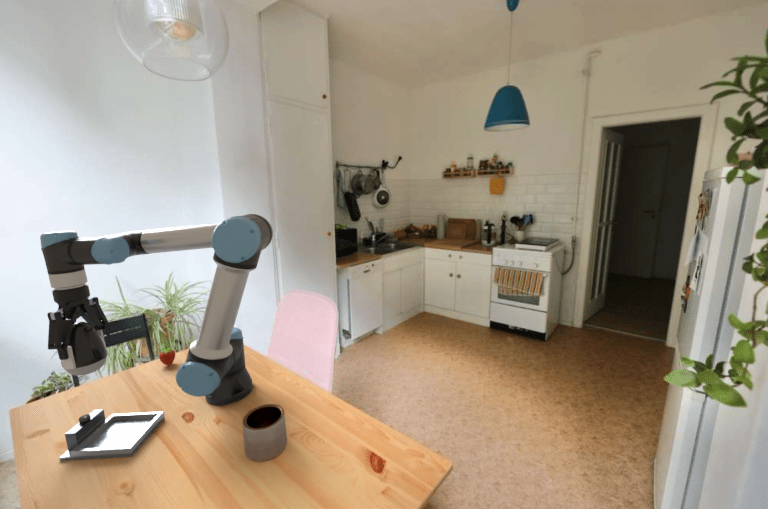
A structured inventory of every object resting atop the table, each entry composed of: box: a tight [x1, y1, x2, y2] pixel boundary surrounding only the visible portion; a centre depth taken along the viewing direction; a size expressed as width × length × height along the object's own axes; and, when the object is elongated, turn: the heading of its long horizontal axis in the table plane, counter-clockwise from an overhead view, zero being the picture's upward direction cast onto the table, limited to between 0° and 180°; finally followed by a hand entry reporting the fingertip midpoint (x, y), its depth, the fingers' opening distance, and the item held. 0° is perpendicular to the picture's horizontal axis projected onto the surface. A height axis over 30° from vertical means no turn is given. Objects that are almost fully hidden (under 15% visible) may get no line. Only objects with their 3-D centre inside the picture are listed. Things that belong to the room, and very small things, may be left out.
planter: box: [241, 403, 288, 462], centre depth 90 cm, size 11×11×10 cm
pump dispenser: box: [60, 321, 109, 377], centre depth 96 cm, size 10×10×15 cm
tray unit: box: [59, 408, 165, 462], centre depth 94 cm, size 18×15×7 cm
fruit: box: [158, 346, 176, 367], centre depth 134 cm, size 5×5×8 cm
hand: (86, 358), depth 97 cm, fingers closed on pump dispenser, 10 cm apart
